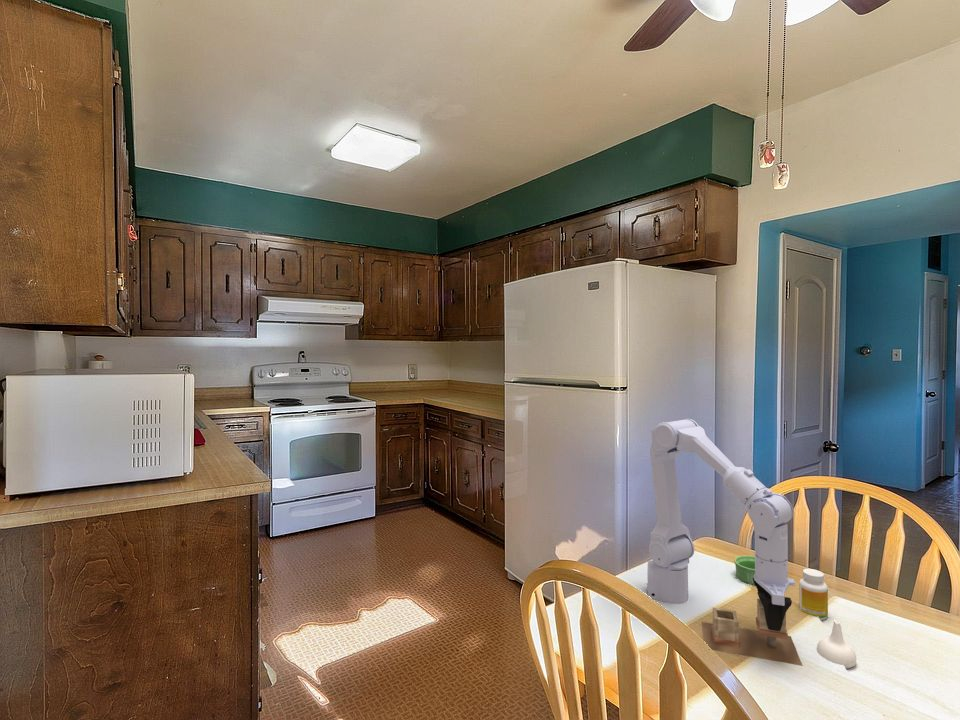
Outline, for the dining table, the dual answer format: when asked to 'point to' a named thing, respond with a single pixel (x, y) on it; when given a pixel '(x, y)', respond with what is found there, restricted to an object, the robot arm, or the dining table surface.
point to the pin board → (756, 646)
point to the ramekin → (745, 568)
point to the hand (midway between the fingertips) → (771, 622)
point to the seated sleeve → (725, 627)
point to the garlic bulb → (837, 648)
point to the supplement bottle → (813, 594)
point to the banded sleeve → (763, 625)
